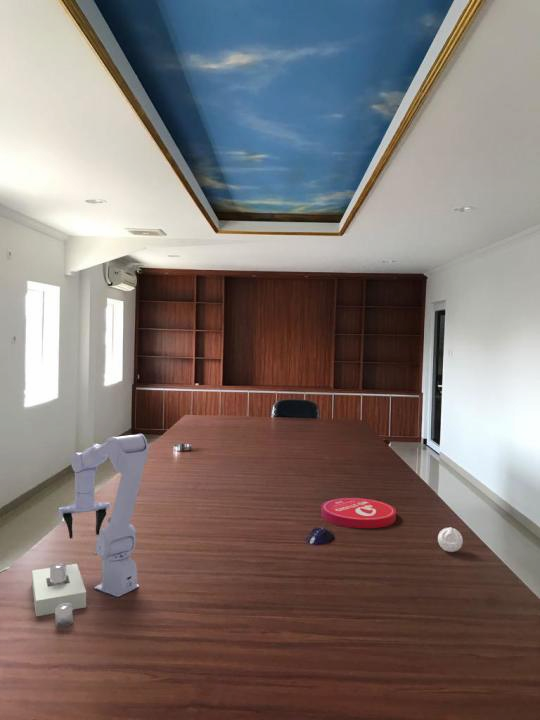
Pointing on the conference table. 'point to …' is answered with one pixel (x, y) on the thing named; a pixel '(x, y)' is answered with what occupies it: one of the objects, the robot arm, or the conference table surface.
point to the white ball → (450, 539)
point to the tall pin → (57, 574)
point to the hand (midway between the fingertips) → (84, 535)
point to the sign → (358, 512)
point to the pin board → (57, 590)
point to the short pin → (63, 614)
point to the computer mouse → (319, 536)
